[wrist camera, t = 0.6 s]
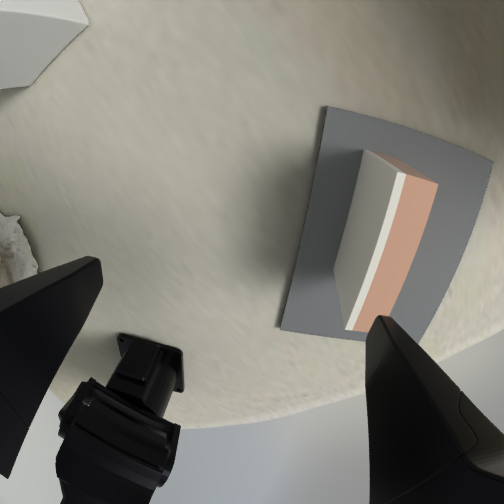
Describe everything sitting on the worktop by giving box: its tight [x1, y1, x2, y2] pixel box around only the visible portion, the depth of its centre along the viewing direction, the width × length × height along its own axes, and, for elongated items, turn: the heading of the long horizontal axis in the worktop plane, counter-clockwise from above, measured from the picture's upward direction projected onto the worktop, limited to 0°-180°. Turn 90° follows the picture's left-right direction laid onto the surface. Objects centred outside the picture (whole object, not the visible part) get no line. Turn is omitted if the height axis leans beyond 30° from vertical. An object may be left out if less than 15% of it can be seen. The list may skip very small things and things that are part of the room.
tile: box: [333, 149, 438, 332], centre depth 15 cm, size 8×2×6 cm, turn 172°
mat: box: [280, 106, 493, 344], centre depth 19 cm, size 16×12×1 cm
